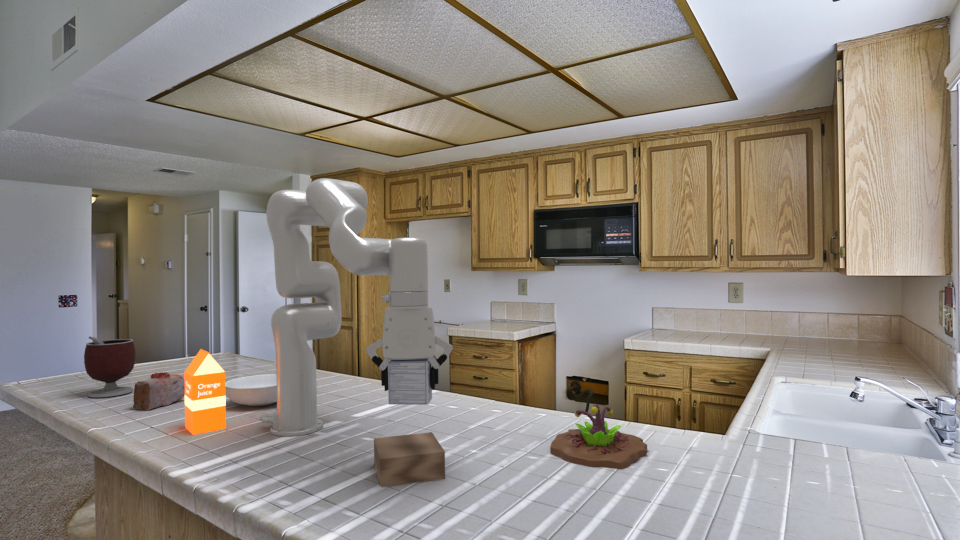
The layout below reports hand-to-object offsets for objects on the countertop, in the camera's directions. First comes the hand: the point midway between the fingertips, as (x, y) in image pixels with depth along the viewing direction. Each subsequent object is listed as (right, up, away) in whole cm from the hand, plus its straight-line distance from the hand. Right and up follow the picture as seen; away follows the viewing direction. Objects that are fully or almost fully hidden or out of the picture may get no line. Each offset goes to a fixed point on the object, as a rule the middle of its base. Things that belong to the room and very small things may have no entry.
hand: (410, 388), depth 100 cm
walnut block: (0, -17, -1) cm, 17 cm away
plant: (+39, -17, +10) cm, 44 cm away
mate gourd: (-110, -18, +69) cm, 131 cm away
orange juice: (-57, -17, +30) cm, 66 cm away
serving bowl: (-53, -17, +55) cm, 78 cm away
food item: (-83, -18, +54) cm, 101 cm away
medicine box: (0, -3, 0) cm, 3 cm away
